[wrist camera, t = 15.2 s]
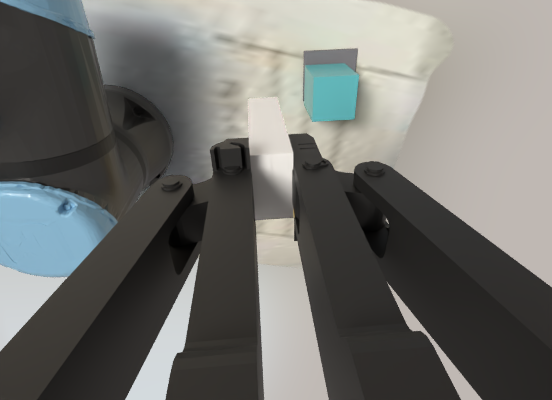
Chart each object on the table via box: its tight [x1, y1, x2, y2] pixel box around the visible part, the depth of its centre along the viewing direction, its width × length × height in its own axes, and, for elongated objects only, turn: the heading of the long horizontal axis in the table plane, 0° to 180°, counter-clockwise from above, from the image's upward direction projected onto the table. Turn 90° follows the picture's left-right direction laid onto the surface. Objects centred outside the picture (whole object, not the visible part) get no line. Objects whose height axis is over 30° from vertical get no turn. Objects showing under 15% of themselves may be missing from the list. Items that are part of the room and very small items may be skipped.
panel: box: [303, 49, 357, 101], centre depth 45 cm, size 7×6×1 cm
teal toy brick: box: [304, 63, 359, 122], centre depth 42 cm, size 5×5×7 cm
